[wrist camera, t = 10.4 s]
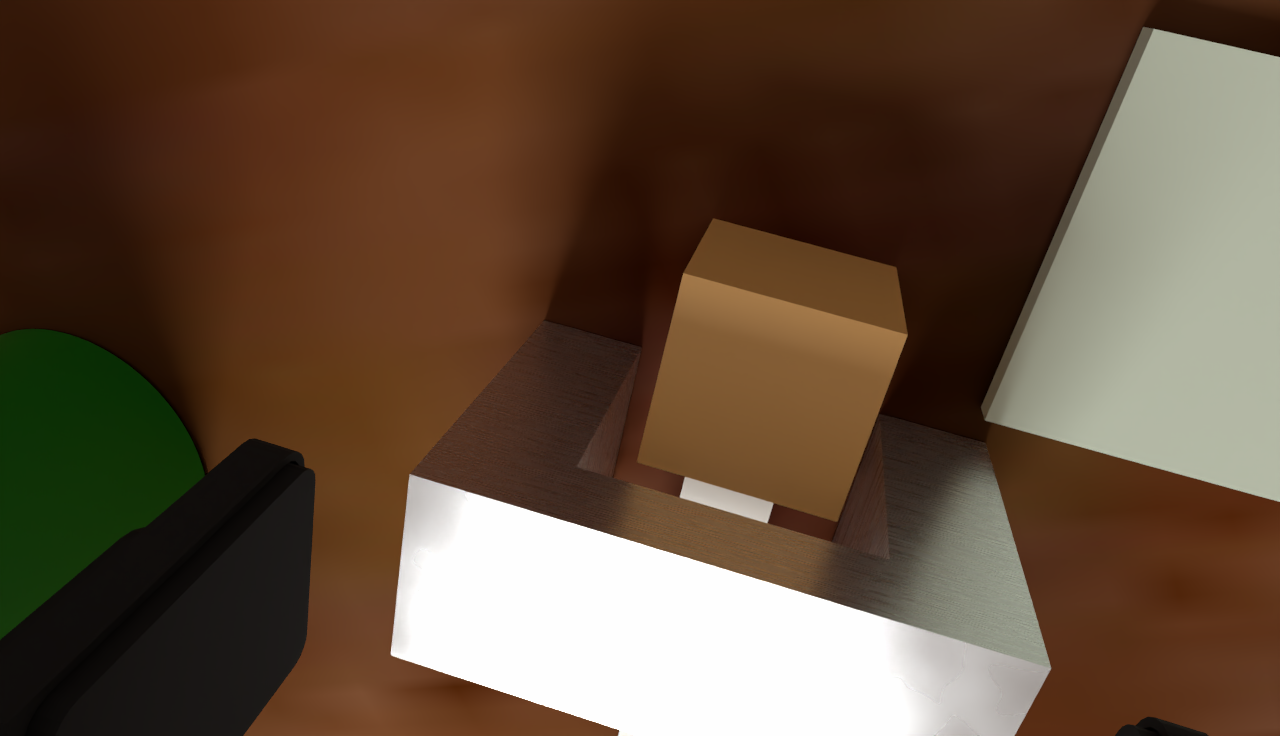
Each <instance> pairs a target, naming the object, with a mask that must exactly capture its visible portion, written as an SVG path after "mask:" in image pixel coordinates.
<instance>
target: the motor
mask: <svg viewBox="0 0 1280 736" xmlns="http://www.w3.org/2000/svg"><path fill="white" fill-rule="evenodd" d="M204 476H205V474H204V470H203V466H202V463H201V460H200V458H199V455H198V452H197V450H196V448H195V446H194V443H193V441H192V439H191V437H190V435H189V434H188V432H187V430H186V428H185V427H184V425H183V424H182V422H181V420H180V419H179V417H178V416H177V415H176V413H175V412H174V410H173V409H172V408H171V406H170V405H169V404H168V403H167V402H166V400H165V399H164V398H163V397H162V396H161V395H160V393H159V392H158V391H157V390H156V389H155V388H154V387H153V386H152V385H151V384H150V383H149V382H148V381H147V380H146V379H145V378H143V377H142V376H141V375H140V374H139V373H138V372H136V371H135V370H134V369H133V368H132V367H130V366H129V365H128V364H126V363H125V362H124V361H122V360H121V359H119V358H118V357H116V356H115V355H113V354H111V353H110V352H108V351H106V350H104V349H103V348H101V347H99V346H97V345H95V344H93V343H91V342H88V341H86V340H84V339H81V338H78V337H75V336H72V335H69V334H66V333H62V332H57V331H52V330H44V329H23V330H16V331H11V332H8V333H5V334H2V335H0V639H2V638H3V637H4V636H5V635H6V634H7V633H9V632H10V631H11V630H12V629H13V628H15V627H16V626H17V625H18V624H19V623H21V622H22V621H23V620H24V619H25V618H26V617H28V616H29V615H30V614H31V613H32V612H34V611H35V610H36V609H37V608H38V607H39V606H41V605H42V604H43V603H44V602H45V601H47V600H48V599H49V598H50V597H51V596H52V595H54V594H55V593H56V592H57V591H58V590H60V589H61V588H62V587H63V586H64V585H65V584H67V583H68V582H69V581H70V580H71V579H73V578H74V577H75V576H76V575H77V574H78V573H80V572H81V571H82V570H83V569H84V568H86V567H87V566H88V565H89V564H90V563H92V562H93V561H94V560H95V559H96V558H97V557H99V556H100V555H101V554H102V553H103V552H105V551H106V550H107V549H108V548H109V547H110V546H112V545H113V544H114V543H115V542H116V541H118V540H119V539H120V538H121V537H123V536H124V535H126V534H127V533H129V532H130V531H132V530H135V529H138V528H142V527H146V526H147V525H148V524H150V523H151V522H152V521H153V520H154V519H155V518H157V517H158V516H159V515H160V514H161V513H162V512H164V511H165V510H166V509H167V508H168V507H169V506H171V505H172V504H173V503H174V502H175V501H176V500H178V499H179V498H180V497H181V496H182V495H183V494H184V493H186V492H187V491H188V490H189V489H190V488H191V487H193V486H194V485H195V484H196V483H197V482H198V481H200V480H201V479H202V478H203V477H204Z"/></svg>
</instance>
